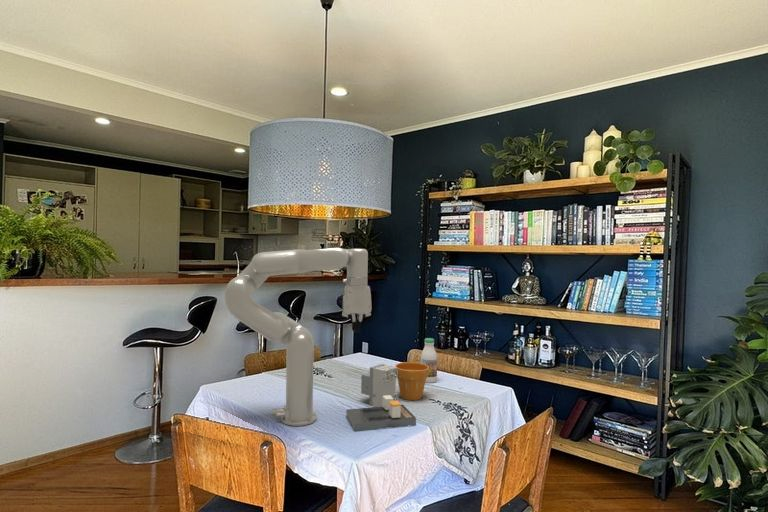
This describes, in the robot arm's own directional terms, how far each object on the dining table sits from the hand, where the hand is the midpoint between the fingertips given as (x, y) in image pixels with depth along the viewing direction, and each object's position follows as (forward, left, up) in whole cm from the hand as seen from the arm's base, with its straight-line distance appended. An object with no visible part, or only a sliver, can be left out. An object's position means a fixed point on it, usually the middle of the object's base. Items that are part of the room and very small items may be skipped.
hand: (356, 332), depth 163 cm
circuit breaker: (+12, +12, -31) cm, 36 cm away
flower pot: (+28, +16, -31) cm, 45 cm away
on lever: (+12, -2, -28) cm, 31 cm away
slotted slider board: (+8, -6, -31) cm, 33 cm away
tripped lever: (+12, -10, -28) cm, 32 cm away
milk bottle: (+44, +36, -31) cm, 65 cm away
